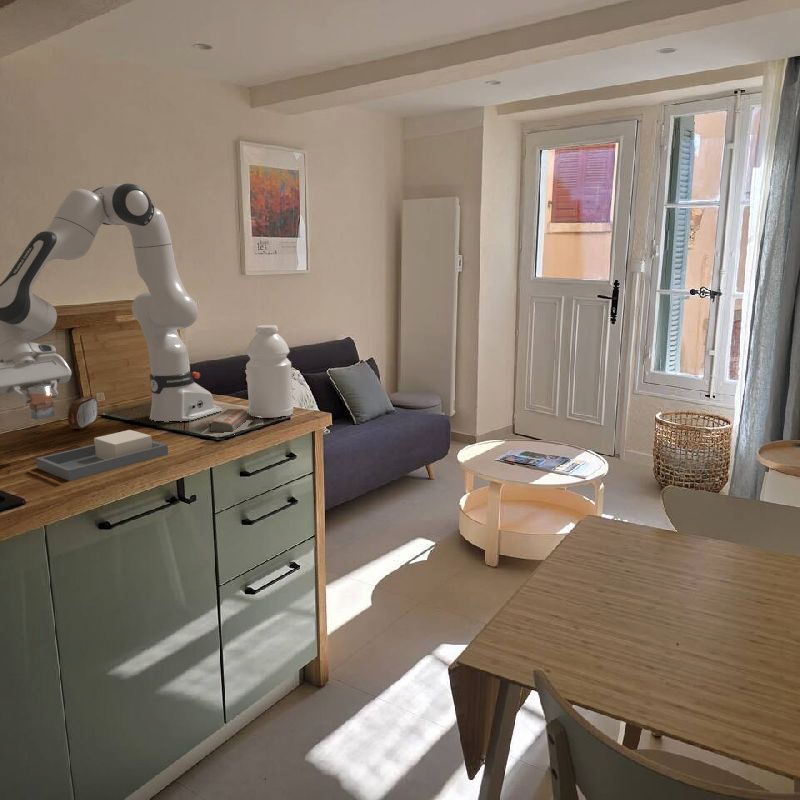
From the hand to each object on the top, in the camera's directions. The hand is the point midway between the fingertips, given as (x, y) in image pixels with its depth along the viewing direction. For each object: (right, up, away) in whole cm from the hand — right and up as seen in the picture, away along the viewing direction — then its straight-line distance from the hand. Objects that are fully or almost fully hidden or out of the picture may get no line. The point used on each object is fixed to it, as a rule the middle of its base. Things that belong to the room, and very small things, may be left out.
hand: (41, 399), depth 185 cm
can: (0, -4, +1) cm, 5 cm away
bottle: (+51, -5, +45) cm, 68 cm away
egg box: (+21, -14, +1) cm, 25 cm away
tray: (+17, -16, -3) cm, 24 cm away
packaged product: (+41, -9, +27) cm, 50 cm away
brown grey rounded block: (-4, -8, +34) cm, 35 cm away
